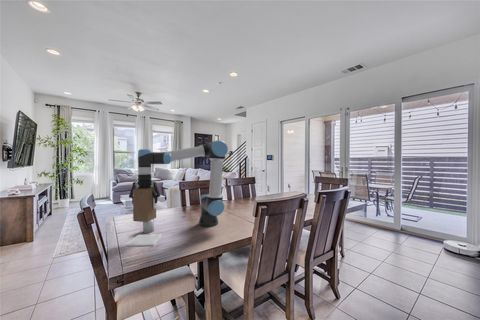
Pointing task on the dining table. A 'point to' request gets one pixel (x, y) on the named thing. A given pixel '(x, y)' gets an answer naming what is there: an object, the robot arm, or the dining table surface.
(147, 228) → the pale grey egg
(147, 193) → the wooden block
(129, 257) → the dining table surface
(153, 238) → the shallow square tray
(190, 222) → the dining table surface
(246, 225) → the dining table surface
